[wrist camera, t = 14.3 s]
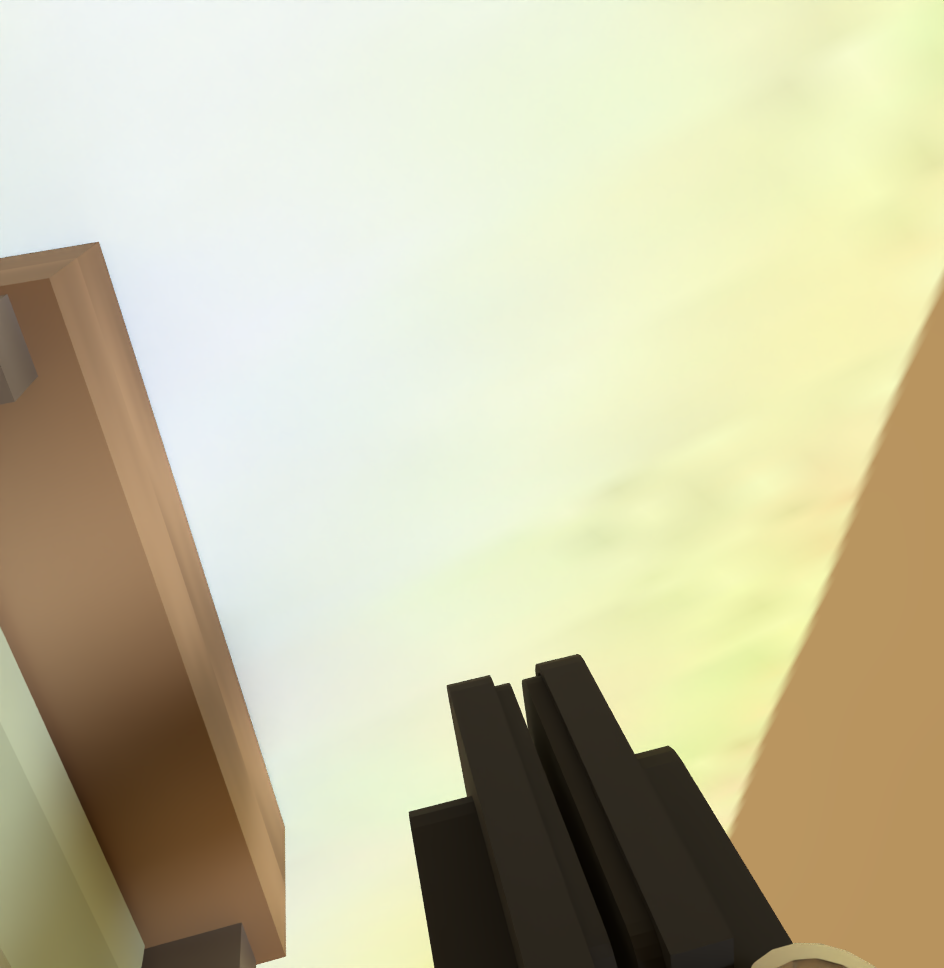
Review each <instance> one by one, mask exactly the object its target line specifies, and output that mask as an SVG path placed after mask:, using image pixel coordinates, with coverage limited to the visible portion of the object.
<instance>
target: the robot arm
mask: <svg viewBox="0 0 944 968" xmlns="http://www.w3.org/2000/svg"><path fill="white" fill-rule="evenodd" d="M535 672H536V677H532V678H527V679H523V680H522V689H523V696H524V703H525V711H526V718H527V725H528V728H527V725H526V723H525V720H524V718H523V715H522V712H521V710H520V707H519V705H518V702H517V700H516V697H515V694H514V692H513V689H512V687H511V685H510V683H507V684H502V685H498V686H494V683H493V681H492V678H491V676H490V675H488V676H484V677H480V678H475V679H471V680H467V681H463V682H459V683H454V684H450V685H447V692H448V697H449V703H450V708H451V713H452V719H453V724H454V729H455V735H456V740H457V746H458V751H459V756H460V762H461V767H462V772H463V778H464V783H465V788H466V794H467V797H465V798H461V799H457V800H453V801H450V802H446V803H442V804H438V805H434V806H430V807H426V808H422V809H418V810H414V811H410V812H409V818H410V825H411V831H412V837H413V843H414V849H415V855H416V861H417V867H418V872H419V878H420V884H421V890H422V896H423V902H424V908H425V914H426V920H427V926H428V932H429V938H430V944H431V950H432V956H433V962H434V968H875V967H874V966H873V965H871V964H869V963H868V962H866V961H864V960H862V959H860V958H859V957H857V956H855V955H853V954H851V953H850V952H848V951H844V950H841V949H837V948H834V947H830V946H827V945H823V944H807V943H794V944H793V943H792V941H791V939H790V938H789V936H788V934H787V933H786V931H785V930H784V928H783V927H782V925H781V923H780V921H779V920H778V918H777V916H776V915H775V913H774V911H773V910H772V908H771V906H770V905H769V903H768V902H767V900H766V898H765V897H764V895H763V893H762V892H761V890H760V889H759V887H758V885H757V883H756V882H755V880H754V879H753V877H752V875H751V874H750V872H749V870H748V869H747V867H746V866H745V864H744V862H743V861H742V859H741V857H740V856H739V854H738V852H737V851H736V849H735V847H734V846H733V844H732V843H731V841H730V839H729V837H728V836H727V834H726V833H725V831H724V829H723V828H722V826H721V824H720V823H719V821H718V819H717V818H716V816H715V814H714V813H713V811H712V809H711V808H710V806H709V805H708V803H707V801H706V800H705V798H704V796H703V795H702V793H701V791H700V790H699V788H698V786H697V785H696V783H695V782H694V780H693V778H692V777H691V775H690V773H689V772H688V770H687V768H686V767H685V765H684V763H683V762H682V760H681V759H680V757H679V756H678V755H677V753H676V752H675V750H673V749H672V748H671V747H669V746H666V747H662V748H658V749H654V750H650V751H646V752H642V753H638V754H634V752H633V750H632V748H631V747H630V745H629V743H628V741H627V739H626V737H625V736H624V734H623V732H622V730H621V728H620V726H619V724H618V723H617V721H616V719H615V717H614V715H613V713H612V711H611V710H610V708H609V706H608V704H607V702H606V700H605V698H604V697H603V695H602V693H601V691H600V689H599V687H598V686H597V684H596V682H595V680H594V678H593V676H592V674H591V673H590V671H589V669H588V667H587V665H586V663H585V661H584V660H583V658H582V657H581V655H579V654H576V655H572V656H568V657H564V658H560V659H555V660H551V661H547V662H543V663H539V664H536V667H535Z"/></svg>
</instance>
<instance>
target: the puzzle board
mask: <svg viewBox="0 0 944 968" xmlns="http://www.w3.org/2000/svg"><path fill="white" fill-rule="evenodd" d="M0 627H1V629H2V632H3V634H4V636H5V638H6V640H7V643H8V645H9V647H10V649H11V651H12V654H13V656H14V658H15V660H16V662H17V665H18V667H19V669H20V671H21V673H22V676H23V678H24V680H25V682H26V685H27V687H28V689H29V691H30V693H31V696H32V698H33V700H34V702H35V704H36V707H37V709H38V711H39V713H40V715H41V718H42V720H43V722H44V724H45V726H46V729H47V731H48V733H49V735H50V737H51V740H52V742H53V744H54V746H55V748H56V751H57V753H58V755H59V757H60V759H61V762H62V764H63V766H64V768H65V770H66V773H67V775H68V777H69V779H70V782H71V784H72V786H73V788H74V790H75V793H76V795H77V797H78V799H79V801H80V804H81V806H82V808H83V810H84V812H85V815H86V817H87V819H88V821H89V823H90V826H91V828H92V830H93V832H94V834H95V837H96V839H97V841H98V843H99V845H100V848H101V850H102V852H103V854H104V856H105V859H106V861H107V863H108V865H109V867H110V870H111V872H112V874H113V876H114V878H115V881H116V883H117V885H118V887H119V890H120V892H121V894H122V896H123V898H124V901H125V903H126V905H127V907H128V909H129V912H130V914H131V916H132V918H133V920H134V923H135V925H136V927H137V929H138V931H139V934H140V936H141V938H142V940H143V942H144V945H145V948H144V955H143V961H142V967H141V968H256V965H257V964H261V963H264V962H268V961H271V960H275V959H278V958H282V957H286V915H285V826H284V823H283V820H282V817H281V814H280V810H279V807H278V804H277V801H276V798H275V795H274V792H273V788H272V785H271V782H270V779H269V776H268V773H267V770H266V766H265V763H264V760H263V757H262V754H261V751H260V748H259V744H258V741H257V738H256V735H255V732H254V729H253V726H252V722H251V719H250V716H249V713H248V710H247V707H246V703H245V700H244V697H243V694H242V691H241V688H240V685H239V681H238V678H237V675H236V672H235V669H234V666H233V663H232V659H231V656H230V653H229V650H228V647H227V644H226V641H225V637H224V634H223V631H222V628H221V625H220V622H219V619H218V615H217V612H216V609H215V606H214V603H213V600H212V597H211V593H210V590H209V587H208V584H207V581H206V578H205V574H204V571H203V568H202V565H201V562H200V559H199V556H198V552H197V549H196V546H195V543H194V540H193V537H192V534H191V530H190V527H189V524H188V521H187V518H186V515H185V512H184V508H183V505H182V502H181V499H180V496H179V493H178V490H177V486H176V483H175V480H174V477H173V474H172V471H171V467H170V464H169V461H168V458H167V455H166V452H165V449H164V445H163V442H162V439H161V436H160V433H159V430H158V427H157V423H156V420H155V417H154V414H153V411H152V408H151V405H150V401H149V398H148V395H147V392H146V389H145V386H144V383H143V379H142V376H141V373H140V370H139V367H138V364H137V361H136V357H135V354H134V351H133V348H132V345H131V342H130V338H129V335H128V332H127V329H126V326H125V323H124V320H123V316H122V313H121V310H120V307H119V304H118V301H117V298H116V294H115V291H114V288H113V285H112V282H111V279H110V276H109V272H108V269H107V266H106V263H105V260H104V257H103V254H102V250H101V247H100V244H99V242H95V243H89V244H83V245H77V246H71V247H65V248H59V249H53V250H47V251H41V252H35V253H29V254H23V255H17V256H11V257H5V258H0Z"/></svg>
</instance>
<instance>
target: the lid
mask: <svg viewBox="0 0 944 968" xmlns="http://www.w3.org/2000/svg"><path fill="white" fill-rule="evenodd" d="M144 948H145V945H144V942H143V940H142V938H141V936H140V934H139V931H138V929H137V927H136V925H135V923H134V920H133V918H132V916H131V914H130V912H129V909H128V907H127V905H126V903H125V901H124V898H123V896H122V894H121V892H120V890H119V887H118V885H117V883H116V881H115V878H114V876H113V874H112V872H111V870H110V867H109V865H108V863H107V861H106V859H105V856H104V854H103V852H102V850H101V848H100V845H99V843H98V841H97V839H96V837H95V834H94V832H93V830H92V828H91V826H90V823H89V821H88V819H87V817H86V815H85V812H84V810H83V808H82V806H81V804H80V801H79V799H78V797H77V795H76V793H75V790H74V788H73V786H72V784H71V782H70V779H69V777H68V775H67V773H66V770H65V768H64V766H63V764H62V762H61V759H60V757H59V755H58V753H57V751H56V748H55V746H54V744H53V742H52V740H51V737H50V735H49V733H48V731H47V729H46V726H45V724H44V722H43V720H42V718H41V715H40V713H39V711H38V709H37V707H36V704H35V702H34V700H33V698H32V696H31V693H30V691H29V689H28V687H27V685H26V682H25V680H24V678H23V676H22V673H21V671H20V669H19V667H18V665H17V662H16V660H15V658H14V656H13V654H12V651H11V649H10V647H9V645H8V643H7V640H6V638H5V636H4V634H3V632H2V629H1V627H0V968H141V967H142V961H143V955H144Z"/></svg>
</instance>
